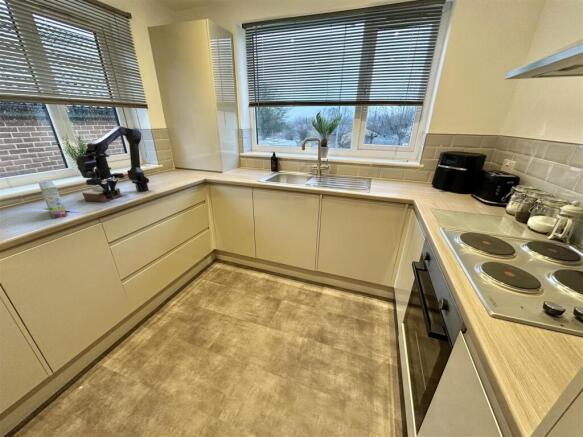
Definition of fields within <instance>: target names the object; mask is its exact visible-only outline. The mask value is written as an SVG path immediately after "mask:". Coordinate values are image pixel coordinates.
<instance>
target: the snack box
mask: <svg viewBox="0 0 583 437" xmlns="http://www.w3.org/2000/svg"><path fill="white" fill-rule="evenodd" d="M38 185H39V188H40V189H39V190H40V191H41V194H42V197H43V199H44V201H45V204H46V207H47V209H48V210H49V213H50V215H51V217H52V218H53V219H56V218H57V219H59V218H62V217H67V212H66V209H65V207H64V204H63V201H62V198H61V195H60V193H59V191H58V187H57V186H56V184H55V183H54V182H53V181H52V180H48V181H40V182H39V181H38Z"/></svg>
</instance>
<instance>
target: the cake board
mask: <svg viewBox="0 0 583 437" xmlns="http://www.w3.org/2000/svg"><path fill="white" fill-rule="evenodd" d="M127 196H128V194H121V195H120V196H117V197H114V198H106V200H105V201H102V202H98V201H86V200H85V199H84V198H83V199H80V200H79V199H78V202H81V203H82V202H83V203H94V204H95V203H97V204H106V203H110V202H111V201H114V200H118V199H120V198H124V197H127Z"/></svg>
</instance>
